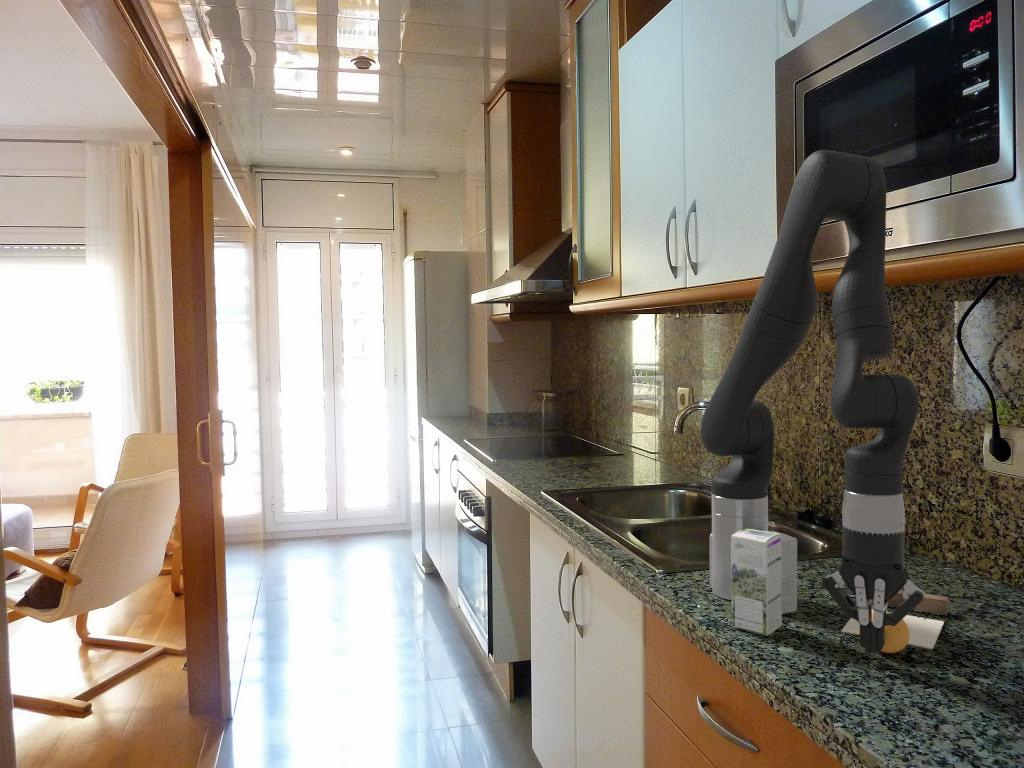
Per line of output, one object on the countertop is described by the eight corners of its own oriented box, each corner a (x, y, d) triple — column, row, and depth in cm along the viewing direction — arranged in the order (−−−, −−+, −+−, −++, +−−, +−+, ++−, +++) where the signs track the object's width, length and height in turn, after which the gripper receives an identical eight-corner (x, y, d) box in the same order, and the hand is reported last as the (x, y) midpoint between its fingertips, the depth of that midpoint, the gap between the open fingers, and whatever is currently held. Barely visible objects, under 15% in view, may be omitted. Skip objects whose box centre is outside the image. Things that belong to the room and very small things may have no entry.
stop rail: (863, 602, 127) (863, 587, 127) (865, 599, 129) (865, 584, 128) (946, 616, 120) (946, 600, 120) (948, 612, 122) (948, 597, 121)
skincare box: (752, 603, 128) (751, 532, 127) (773, 600, 129) (773, 529, 128) (776, 615, 122) (776, 540, 121) (798, 611, 123) (798, 537, 123)
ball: (857, 607, 109) (865, 628, 112) (866, 643, 105) (875, 663, 108) (899, 600, 107) (906, 621, 110) (910, 636, 103) (917, 657, 106)
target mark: (841, 631, 115) (841, 630, 115) (859, 608, 124) (859, 606, 124) (932, 649, 108) (932, 647, 108) (944, 622, 117) (944, 621, 117)
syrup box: (782, 626, 118) (782, 532, 117) (766, 637, 113) (766, 540, 112) (747, 617, 121) (747, 526, 121) (730, 628, 117) (729, 534, 116)
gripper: (813, 523, 104) (813, 650, 105) (924, 537, 96) (922, 673, 97) (828, 513, 110) (827, 632, 111) (933, 524, 102) (931, 652, 103)
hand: (872, 651), depth 104 cm, fingers closed
